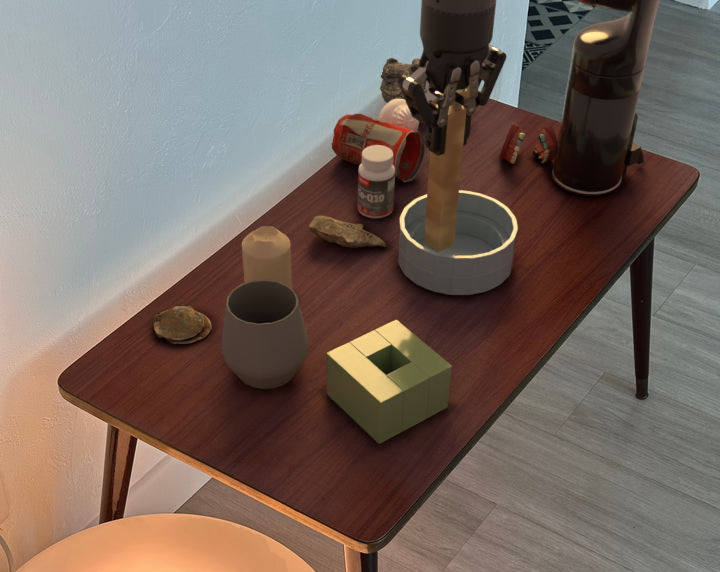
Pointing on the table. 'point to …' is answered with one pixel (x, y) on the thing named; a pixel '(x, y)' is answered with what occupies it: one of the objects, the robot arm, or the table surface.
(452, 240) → the stick
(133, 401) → the table surface
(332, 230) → the artifact
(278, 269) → the candle
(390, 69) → the rock
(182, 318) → the decorative disc
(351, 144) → the beverage can
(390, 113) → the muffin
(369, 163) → the pill bottle
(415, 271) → the bowl
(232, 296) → the cup
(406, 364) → the stand
